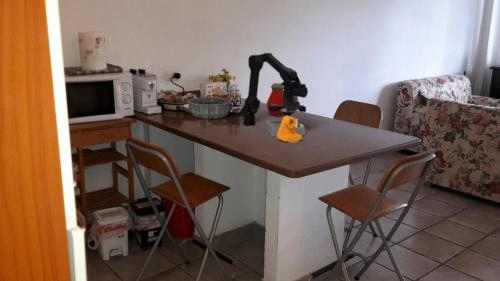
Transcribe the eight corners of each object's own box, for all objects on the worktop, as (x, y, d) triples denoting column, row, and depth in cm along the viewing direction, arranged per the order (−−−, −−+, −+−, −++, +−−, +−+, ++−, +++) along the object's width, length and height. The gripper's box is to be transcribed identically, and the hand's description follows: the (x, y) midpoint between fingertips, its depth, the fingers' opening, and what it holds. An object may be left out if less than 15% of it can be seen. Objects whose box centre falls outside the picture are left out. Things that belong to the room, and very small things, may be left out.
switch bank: (271, 135, 239) (271, 127, 238) (264, 127, 256) (264, 119, 255) (304, 135, 242) (305, 126, 241) (295, 127, 259) (295, 119, 258)
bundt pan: (198, 122, 266) (198, 105, 263) (181, 114, 288) (181, 98, 285) (238, 118, 279) (238, 102, 276) (219, 111, 301) (219, 96, 298)
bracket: (284, 143, 225) (285, 119, 222) (276, 139, 231) (277, 116, 228) (302, 140, 230) (304, 117, 227) (294, 137, 236) (295, 114, 233)
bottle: (288, 118, 285) (289, 85, 280) (266, 117, 285) (267, 85, 280) (286, 113, 300) (288, 82, 295) (266, 112, 300) (267, 81, 295)
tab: (289, 130, 243) (290, 119, 241) (288, 129, 246) (288, 118, 244) (297, 130, 243) (297, 119, 242) (295, 128, 246) (296, 117, 245)
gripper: (274, 96, 230) (272, 127, 234) (310, 97, 233) (307, 127, 237) (269, 93, 240) (267, 122, 244) (304, 94, 244) (301, 123, 248)
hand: (286, 124), depth 243 cm, fingers closed
